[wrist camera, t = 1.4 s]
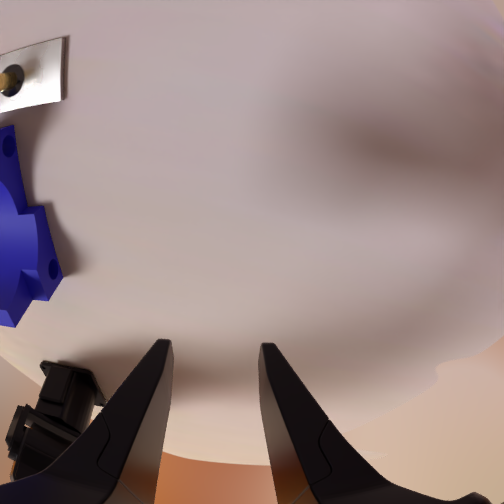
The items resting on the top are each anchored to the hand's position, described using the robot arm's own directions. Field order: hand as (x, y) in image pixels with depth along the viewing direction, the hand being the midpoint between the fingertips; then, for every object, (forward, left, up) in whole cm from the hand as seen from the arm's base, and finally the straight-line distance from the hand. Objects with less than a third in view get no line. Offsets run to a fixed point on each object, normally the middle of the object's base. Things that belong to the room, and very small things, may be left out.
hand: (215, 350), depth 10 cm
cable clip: (0, +15, -11) cm, 19 cm away
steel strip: (+9, +18, -11) cm, 23 cm away
